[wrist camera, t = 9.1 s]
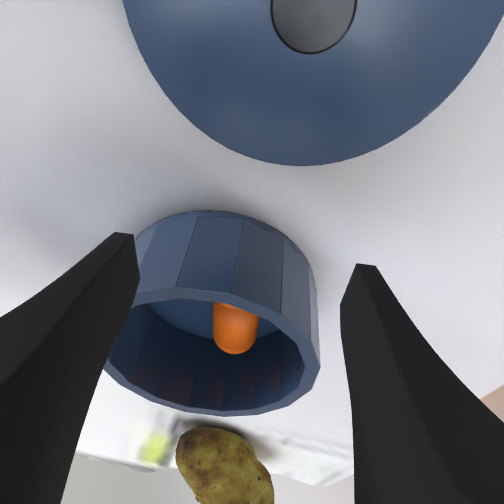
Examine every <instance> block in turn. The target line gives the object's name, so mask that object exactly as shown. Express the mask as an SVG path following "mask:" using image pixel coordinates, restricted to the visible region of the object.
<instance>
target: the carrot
mask: <svg viewBox="0 0 504 504" xmlns="http://www.w3.org/2000/svg"><path fill="white" fill-rule="evenodd" d="M259 318H260V317H259V316H257V315H254V314H252V313H249V312H247V311H244V310H242V309H239V308H236V307H234V306H231V305H229V304H224V303H216V302H213V338H214V341H215V342H216V344H217V346H218V347H219V348H220V349H222V350H223V351H225V352H227V353H230V354H239V353H243V352H245V351H247V350H248V349H249V348H250V347H251V346H252V345H253V344H254V342H255V340H256V336H257V331H258V325H259Z"/></svg>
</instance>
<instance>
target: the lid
mask: <svg viewBox="0 0 504 504" xmlns="http://www.w3.org/2000/svg"><path fill="white" fill-rule="evenodd" d="M122 1H123V4H124V8H125V11H126V15H127V18H128V22H129V25H130V28H131V30H132V33H133V35H134V38H135V40H136V43H137V45H138V48H139V50H140V53H141V54H142V56H143V58H144V60H145V62H146V64H147V66H148V68H149V70H150V72H151V74H152V75H153V77H154V78H155V80H156V81H157V83H158V84H159V86H160V87H161V89H162V90H163V92H164V93H165V94H166V96H167V97H168V98H169V99H170V100H171V102H172V103H173V104H174V105H175V106H176V108H177V109H178V110H179V111H180V112H181V113H182V114H183V115H184V116H185V117H186V118H187V119H188V120H189V121H190V122H191V123H192V124H193V125H195V126H196V127H197V128H198V129H200V130H201V131H202V132H204V133H205V134H206V135H208V136H209V137H210V138H212V139H213V140H215V141H217V142H218V143H220V144H222V145H224V146H225V147H227V148H229V149H231V150H233V151H236V152H238V153H240V154H242V155H245V156H247V157H251V158H254V159H257V160H260V161H264V162H269V163H275V164H280V165H292V166H311V165H323V164H329V163H335V162H340V161H344V160H347V159H351V158H354V157H357V156H360V155H363V154H365V153H368V152H370V151H372V150H375V149H377V148H380V147H381V146H383V145H385V144H387V143H389V142H391V141H392V140H394V139H396V138H398V137H399V136H401V135H402V134H404V133H405V132H407V131H408V130H410V129H411V128H413V127H414V126H416V125H417V124H418V123H420V122H421V121H422V120H423V119H424V118H425V117H427V116H428V115H429V114H430V113H431V112H433V111H434V110H435V109H436V108H437V107H438V106H439V105H440V104H441V103H442V102H443V101H444V100H445V99H446V98H447V97H448V96H449V95H450V94H451V93H452V92H453V91H454V90H455V89H456V87H457V86H458V85H459V84H460V82H461V81H462V80H463V79H464V77H465V76H466V75H467V74H468V72H469V71H470V70H471V69H472V67H473V66H474V65H475V63H476V61H477V60H478V58H479V57H480V55H481V54H482V52H483V51H484V49H485V48H486V46H487V45H488V43H489V42H490V40H491V38H492V36H493V34H494V32H495V30H496V28H497V26H498V24H499V23H500V21H501V19H502V17H503V15H504V0H122Z"/></svg>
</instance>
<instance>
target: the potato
mask: <svg viewBox="0 0 504 504" xmlns="http://www.w3.org/2000/svg"><path fill="white" fill-rule="evenodd" d="M176 463H177V466H178V468H179V470H180V472H181V474H182V476H183V477H184V479H185V481H186V482H187V484H188V485H189V486H190V488H191V489H192V491H193V492H194V494H195V496H196V500H197V501H199V502H200V503H201V504H274V489H273V485H272V481H271V476H270V474H269V472H268V471H267V469H266V468H265V466H264V465H263V464H262V463H261V462H259V461H258V460H257V458H256V456H255V453H254V450H253V447H252V446H251V445H250V444H249V443H248V442H247V441H246V440H245V439H244V438H242V437H241V436H239V435H237V434H235V433H233V432H230V431H226V430H223V429H220V428H212V427H206V426H199V427H197V428H193V429H191V430H188V431H186V432H185V433H184V434H182V435H181V436H180V439H179V441H178V445H177V448H176Z"/></svg>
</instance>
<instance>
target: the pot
mask: <svg viewBox="0 0 504 504" xmlns="http://www.w3.org/2000/svg"><path fill="white" fill-rule="evenodd" d="M135 248H136V254H137V260H138V266H139V272H140V282H139V285H138V288H137V292H136V295H135V298H134V301H133V304H132V307H131V309H130V311H129V313H128V316H127V318H126V320H125V322H124V324H123V327H122V329H121V331H120V333H119V335H118V337H117V339H116V342H115V344H114V346H113V348H112V350H111V352H110V354H109V356H108V359H107V361H106V363H105V365H104V367H103V369H104V370H105V371H106V372H107V373H108V374H109V375H110V376H111V377H112V378H113V379H114V380H115V381H116V382H117V383H118V384H120V385H121V386H123V387H125V388H127V389H129V390H131V391H133V392H134V393H136V394H138V395H140V396H142V397H144V398H146V399H147V400H149V401H151V402H155V403H158V404H161V405H164V406H168V407H171V408H174V409H177V410H181V411H184V412H190V413H198V414H206V415H214V416H222V417H228V416H247V415H259V414H263V413H266V412H270V411H273V410H276V409H280V408H283V407H287V406H289V405H291V404H292V403H293V402H295V401H296V400H298V399H299V398H300V397H302V396H303V395H305V394H306V393H307V392H309V391H310V390H311V389H312V387H313V385H314V382H315V380H316V377H317V375H318V372H319V370H320V349H319V331H318V313H317V295H316V288H315V285H314V279H313V274H312V271H311V268H310V265H309V263H308V261H307V260H306V258H305V256H304V255H303V253H302V252H301V251H300V250H299V249H298V247H297V246H296V245H295V244H294V243H293V242H292V241H291V240H289V239H288V238H287V237H286V236H284V235H283V234H282V233H280V232H279V231H277V230H276V229H274V228H272V227H270V226H268V225H267V224H265V223H262V222H260V221H257V220H255V219H253V218H249V217H246V216H242V215H239V214H234V213H229V212H223V211H192V212H186V213H180V214H177V215H173V216H170V217H167V218H165V219H163V220H160V221H158V222H156V223H155V224H153V225H152V226H150V227H148V228H147V229H146V230H145V231H144V232H143V233H141V234H140V236H139V237H138V238H137V239H136V240H135ZM213 302H216V303H224V304H229V305H231V306H234V307H236V308H239V309H242V310H244V311H247V312H249V313H252V314H254V315H257V316H259V317H260V318H259V325H258V331H257V336H256V340H255V342H254V344H253V345H252V346H251V347H250V348H249V349H248V350H247V351H245V352H243V353H239V354H230V353H227V352H225V351H223V350H222V349H220V348H219V347H218V346H217V344H216V342H215V341H214V338H213Z"/></svg>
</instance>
